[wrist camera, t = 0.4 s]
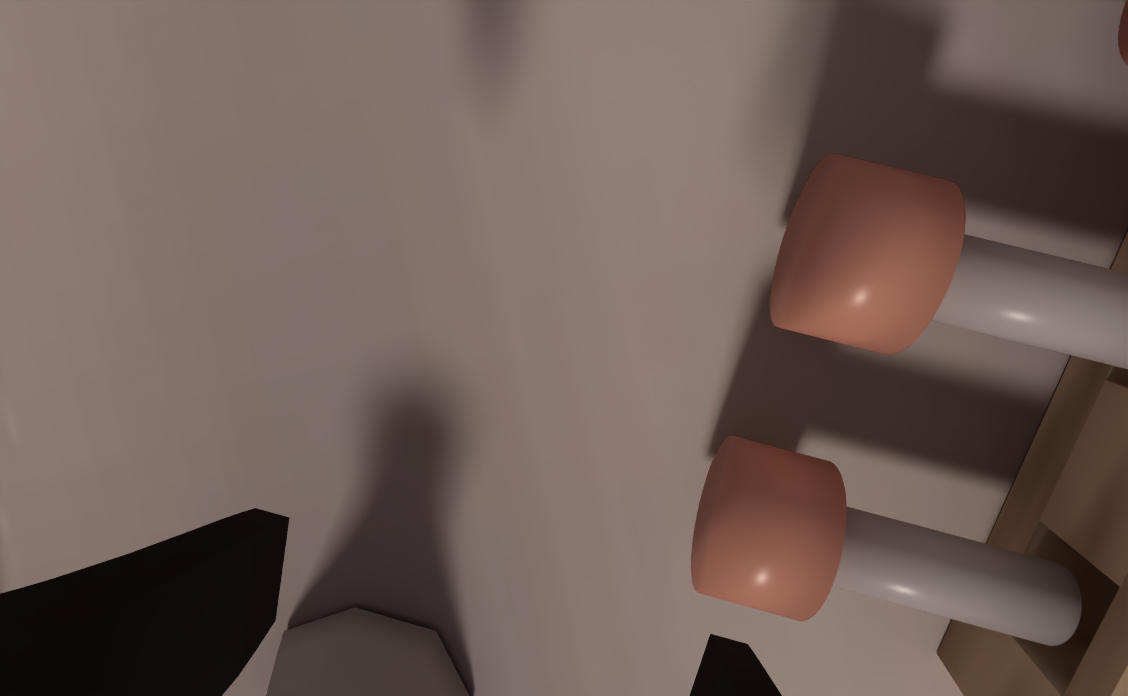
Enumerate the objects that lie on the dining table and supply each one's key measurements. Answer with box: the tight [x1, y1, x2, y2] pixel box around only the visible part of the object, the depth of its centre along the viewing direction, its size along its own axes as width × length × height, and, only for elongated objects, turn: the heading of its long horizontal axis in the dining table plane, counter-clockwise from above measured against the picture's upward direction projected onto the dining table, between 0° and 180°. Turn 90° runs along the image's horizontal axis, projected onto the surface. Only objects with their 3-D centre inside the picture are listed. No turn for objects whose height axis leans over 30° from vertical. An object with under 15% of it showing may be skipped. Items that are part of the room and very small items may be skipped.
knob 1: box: [770, 153, 1128, 369], centre depth 15 cm, size 8×4×4 cm, turn 77°
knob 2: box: [691, 435, 1082, 646], centre depth 16 cm, size 8×4×4 cm, turn 77°
